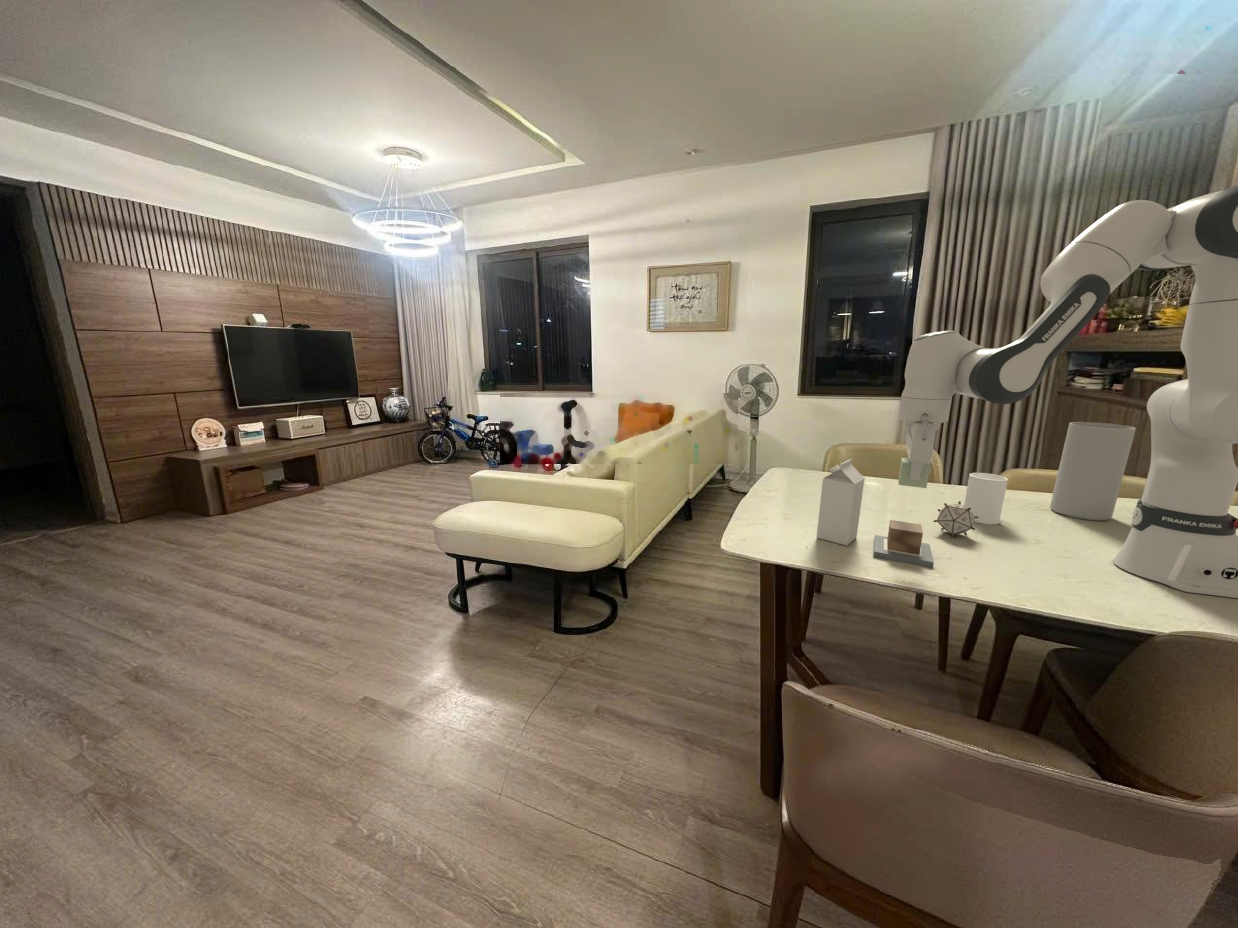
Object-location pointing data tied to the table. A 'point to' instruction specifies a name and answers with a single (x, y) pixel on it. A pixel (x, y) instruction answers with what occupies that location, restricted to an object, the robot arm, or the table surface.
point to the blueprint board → (902, 553)
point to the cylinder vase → (1091, 470)
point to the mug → (985, 497)
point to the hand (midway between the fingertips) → (913, 475)
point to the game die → (955, 519)
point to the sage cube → (905, 475)
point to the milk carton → (840, 504)
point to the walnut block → (904, 537)
